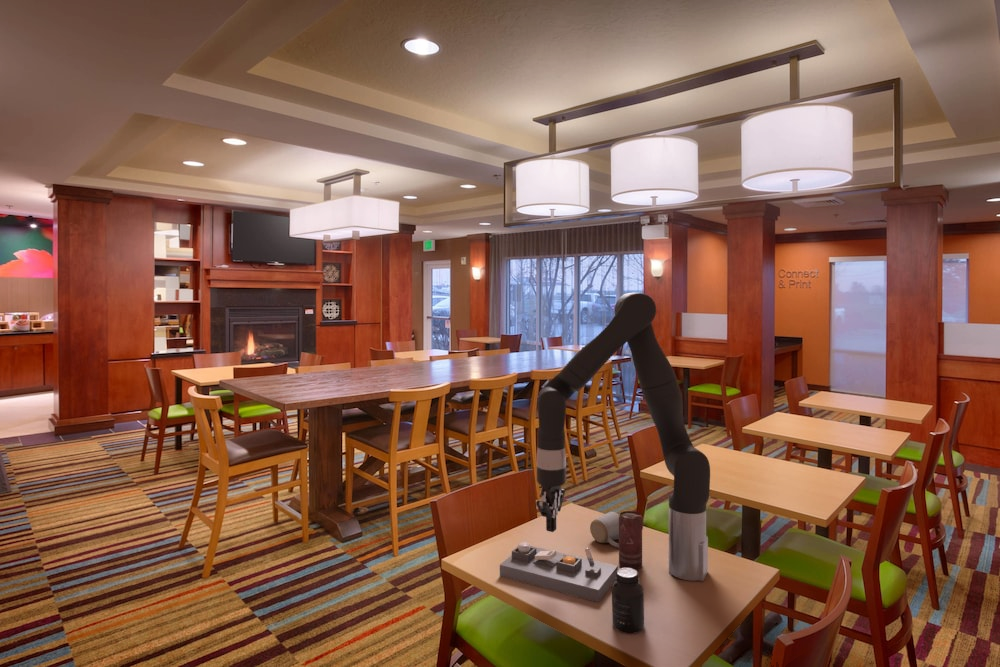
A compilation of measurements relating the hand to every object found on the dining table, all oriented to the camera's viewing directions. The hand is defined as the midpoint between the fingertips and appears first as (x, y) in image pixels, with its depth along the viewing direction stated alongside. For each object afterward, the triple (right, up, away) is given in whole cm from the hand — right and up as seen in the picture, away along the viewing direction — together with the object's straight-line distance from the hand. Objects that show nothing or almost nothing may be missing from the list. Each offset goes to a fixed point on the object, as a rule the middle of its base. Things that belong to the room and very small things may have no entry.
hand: (551, 530), depth 145 cm
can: (+22, -12, +5) cm, 25 cm away
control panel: (+2, -12, 0) cm, 12 cm away
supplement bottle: (+15, -13, -23) cm, 30 cm away
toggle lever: (+10, -8, -5) cm, 14 cm away
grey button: (-7, -7, +5) cm, 11 cm away
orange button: (+4, -8, -2) cm, 10 cm away
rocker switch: (-1, -7, +1) cm, 8 cm away
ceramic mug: (+20, -11, +21) cm, 31 cm away
